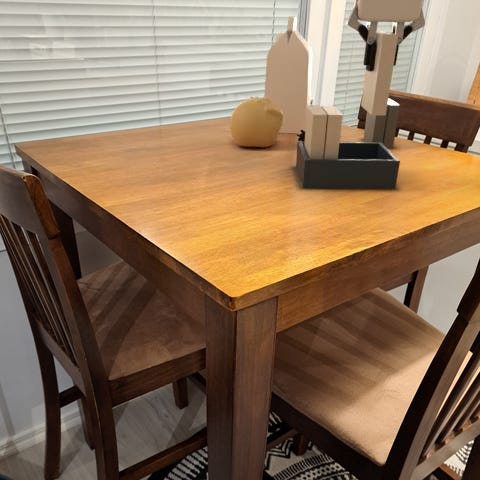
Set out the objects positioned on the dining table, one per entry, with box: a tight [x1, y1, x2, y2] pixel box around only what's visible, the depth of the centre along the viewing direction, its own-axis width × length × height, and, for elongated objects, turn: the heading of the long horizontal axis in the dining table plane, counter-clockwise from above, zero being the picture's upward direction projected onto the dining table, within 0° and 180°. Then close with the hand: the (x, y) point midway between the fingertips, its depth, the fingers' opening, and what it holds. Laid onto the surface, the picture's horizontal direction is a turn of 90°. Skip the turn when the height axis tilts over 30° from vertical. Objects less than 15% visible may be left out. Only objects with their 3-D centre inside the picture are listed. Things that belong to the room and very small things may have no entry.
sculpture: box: [229, 96, 283, 148], centre depth 116 cm, size 12×12×11 cm
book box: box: [295, 141, 401, 190], centre depth 93 cm, size 17×14×6 cm
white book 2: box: [320, 105, 343, 159], centre depth 91 cm, size 2×9×12 cm, turn 0°
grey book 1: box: [362, 104, 388, 143], centre depth 116 cm, size 2×9×10 cm, turn 0°
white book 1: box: [304, 105, 327, 159], centre depth 91 cm, size 2×9×12 cm, turn 0°
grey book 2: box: [383, 98, 401, 149], centre depth 116 cm, size 2×9×10 cm, turn 0°
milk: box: [263, 16, 313, 135], centre depth 128 cm, size 12×12×26 cm
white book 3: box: [360, 31, 398, 115], centre depth 85 cm, size 2×9×12 cm, turn 0°
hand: (378, 69), depth 85 cm, fingers closed on white book 3, 2 cm apart
